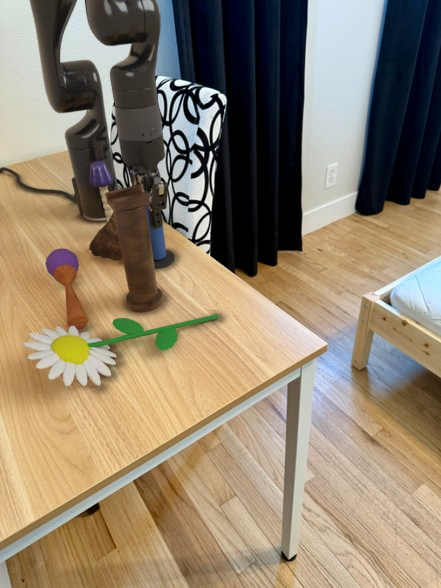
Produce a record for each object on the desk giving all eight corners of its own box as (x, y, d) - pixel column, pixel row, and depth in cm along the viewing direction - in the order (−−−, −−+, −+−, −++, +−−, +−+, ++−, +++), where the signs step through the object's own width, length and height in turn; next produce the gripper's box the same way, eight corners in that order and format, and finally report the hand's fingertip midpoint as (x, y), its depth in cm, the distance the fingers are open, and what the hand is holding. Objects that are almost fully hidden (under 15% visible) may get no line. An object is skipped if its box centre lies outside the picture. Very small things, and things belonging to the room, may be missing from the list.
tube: (169, 256, 87) (152, 261, 86) (161, 248, 89) (145, 253, 88) (162, 201, 80) (144, 206, 78) (155, 195, 82) (137, 199, 81)
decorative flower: (200, 307, 79) (23, 345, 66) (202, 286, 76) (18, 322, 63) (232, 353, 70) (36, 408, 57) (237, 332, 67) (31, 384, 54)
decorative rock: (152, 251, 90) (145, 204, 84) (141, 267, 86) (133, 219, 79) (100, 246, 93) (89, 200, 86) (86, 261, 88) (74, 213, 82)
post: (135, 317, 74) (113, 205, 61) (122, 297, 78) (99, 190, 65) (168, 304, 76) (155, 195, 64) (154, 286, 81) (138, 180, 68)
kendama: (52, 317, 68) (38, 249, 81) (68, 340, 72) (52, 272, 86) (88, 302, 69) (68, 238, 83) (101, 326, 73) (80, 261, 87)
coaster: (134, 265, 86) (134, 264, 86) (150, 248, 92) (149, 246, 91) (166, 271, 84) (165, 269, 84) (180, 253, 90) (180, 251, 89)
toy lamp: (118, 241, 94) (104, 168, 84) (98, 240, 95) (82, 167, 85) (126, 231, 98) (113, 159, 88) (107, 229, 99) (92, 158, 88)
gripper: (105, 125, 76) (121, 213, 86) (135, 147, 66) (149, 244, 77) (144, 118, 79) (155, 204, 89) (178, 138, 69) (186, 232, 80)
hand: (152, 222), depth 83 cm, fingers closed on tube, 3 cm apart
